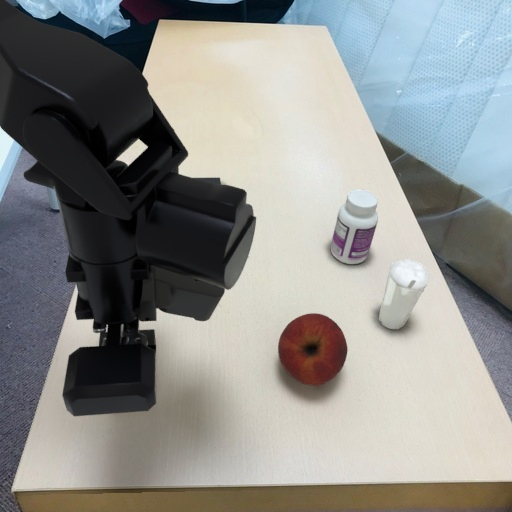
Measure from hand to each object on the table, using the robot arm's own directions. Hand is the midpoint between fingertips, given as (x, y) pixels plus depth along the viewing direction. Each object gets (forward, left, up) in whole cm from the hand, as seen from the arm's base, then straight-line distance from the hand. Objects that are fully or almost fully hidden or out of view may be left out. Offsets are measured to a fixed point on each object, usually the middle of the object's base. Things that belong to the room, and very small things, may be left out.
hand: (127, 364), depth 47 cm
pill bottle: (+29, +22, -7) cm, 37 cm away
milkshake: (+31, +9, -7) cm, 33 cm away
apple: (+19, +3, -7) cm, 20 cm away
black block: (0, 0, -1) cm, 1 cm away
